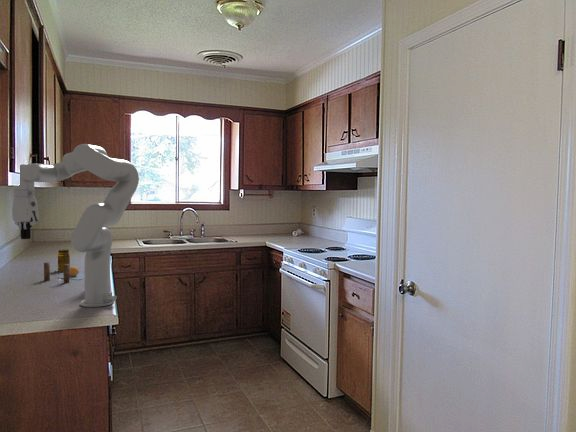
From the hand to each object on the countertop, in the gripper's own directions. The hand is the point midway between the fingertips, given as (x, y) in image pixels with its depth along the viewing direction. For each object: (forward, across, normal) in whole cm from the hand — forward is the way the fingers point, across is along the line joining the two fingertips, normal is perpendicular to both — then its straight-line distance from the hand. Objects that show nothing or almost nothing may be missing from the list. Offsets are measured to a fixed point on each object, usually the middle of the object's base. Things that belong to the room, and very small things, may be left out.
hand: (25, 238), depth 183 cm
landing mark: (+25, +20, -46) cm, 56 cm away
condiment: (+25, +40, -56) cm, 74 cm away
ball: (+22, +22, -44) cm, 55 cm away
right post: (+25, +13, -32) cm, 43 cm away
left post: (+25, +26, -32) cm, 48 cm away
